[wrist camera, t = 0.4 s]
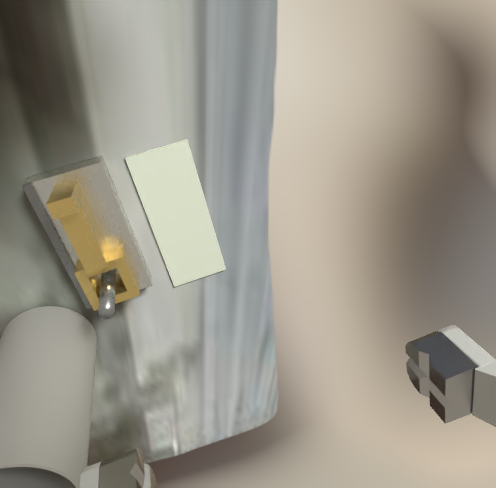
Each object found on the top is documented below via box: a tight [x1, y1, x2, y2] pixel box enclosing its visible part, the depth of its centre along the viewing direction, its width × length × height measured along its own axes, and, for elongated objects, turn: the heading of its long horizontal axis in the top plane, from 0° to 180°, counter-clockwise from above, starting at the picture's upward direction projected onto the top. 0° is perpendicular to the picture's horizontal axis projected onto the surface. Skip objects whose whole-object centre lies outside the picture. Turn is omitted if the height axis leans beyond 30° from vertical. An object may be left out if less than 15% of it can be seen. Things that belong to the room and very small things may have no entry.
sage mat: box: [125, 139, 226, 287], centre depth 57 cm, size 20×8×1 cm, turn 13°
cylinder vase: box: [0, 306, 97, 488], centre depth 49 cm, size 12×12×25 cm
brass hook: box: [46, 179, 140, 311], centre depth 49 cm, size 16×6×6 cm, turn 13°
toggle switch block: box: [22, 156, 152, 319], centre depth 49 cm, size 18×9×12 cm, turn 13°
